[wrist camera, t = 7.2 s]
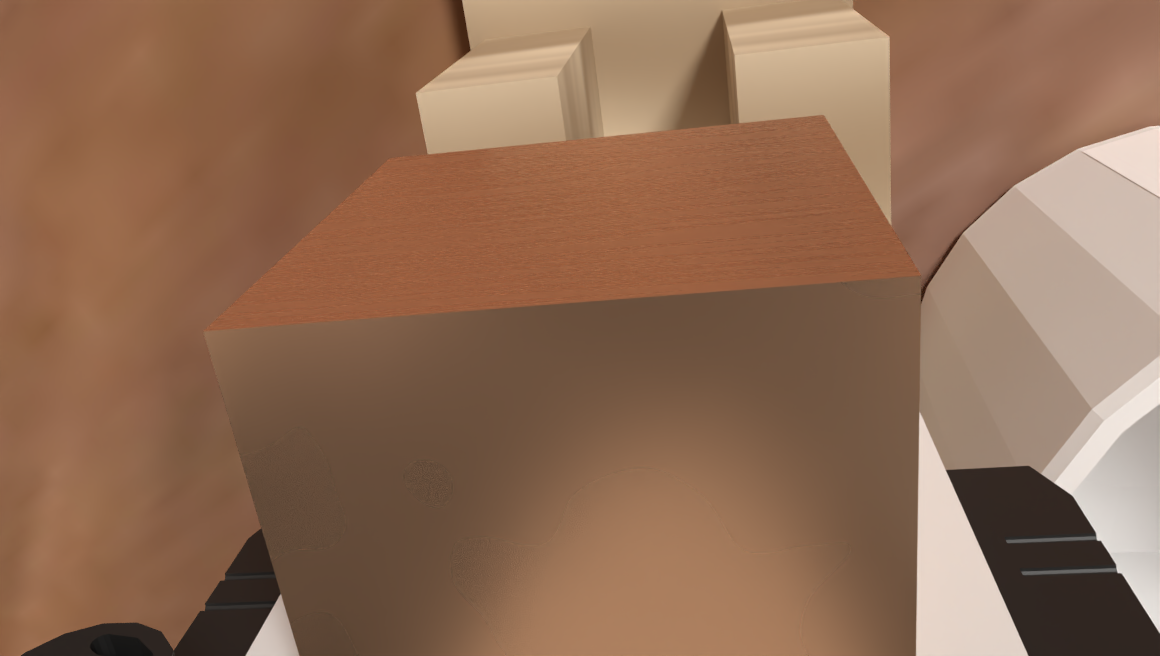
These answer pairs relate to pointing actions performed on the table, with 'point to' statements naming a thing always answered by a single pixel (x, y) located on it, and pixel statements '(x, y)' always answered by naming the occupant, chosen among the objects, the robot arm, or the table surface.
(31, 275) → the table surface
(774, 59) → the rack
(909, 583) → the block
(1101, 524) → the mug
